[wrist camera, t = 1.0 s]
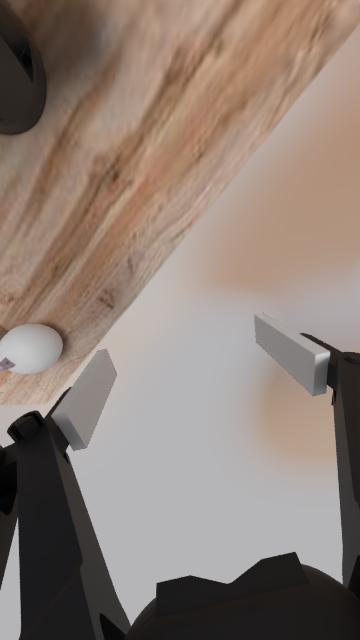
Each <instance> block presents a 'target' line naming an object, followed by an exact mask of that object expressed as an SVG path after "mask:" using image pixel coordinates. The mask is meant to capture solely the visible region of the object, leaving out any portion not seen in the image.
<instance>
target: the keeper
mask: <svg viewBox="0 0 360 640" xmlns="http://www.w3.org/2000/svg"><path fill="white" fill-rule="evenodd" d="M7 333H8V331H7V330H5V329H4V328H3V327H1V326H0V341H1V339H2V338H3V337H4V336H5V334H7ZM0 363H1V362H0Z"/></svg>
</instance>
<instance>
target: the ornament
mask: <svg viewBox="0 0 360 640" xmlns="http://www.w3.org/2000/svg"><path fill="white" fill-rule="evenodd" d="M62 348H63V343H62V339H61V337H60V335H59V334H58V333H57V332H56V331H55V330H54V329H52V328H50V327H48V326H45V325H41V324H25V325H21V326H18V327H15V328H13V329H12V330H10V331H9V332H8V333H7V334H5V336H4V337H3V338H2V339H1V341H0V362H1V363H0V370H1V371H3V370H6V369H8V370H10V371H12V372H15V373H18V374H35V373H39V372H42V371H44V370H46V369H48V368H50V367H51V366H52V365H53V364H54V363H55V362H56V361H57V360H58V358H59V357H60V355H61V352H62Z"/></svg>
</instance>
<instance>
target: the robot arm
mask: <svg viewBox="0 0 360 640" xmlns="http://www.w3.org/2000/svg"><path fill="white" fill-rule="evenodd" d="M45 96H46V81H45V73H44V69H43V65H42V61H41V58H40V55H39V53H38V50H37V48H36V46H35V44H34V42H33V40H32V38H31V36H30V35H29V33H28V31H27V30H26V28H25V26H24V25H23V23H22V22H21V20H20V18H19V17H18V15H17V14H16V12H15V11H14V9H13V8H12V7H11V5H10V4H9V3H8V2H7V0H0V132H1V133H8V134H13V133H19V132H22V131H25V130H27V129H28V128H30V127H31V126H32V125H33V124H34V123H35V122H36V121H37V120H38V118H39V116H40V114H41V112H42V110H43V107H44V103H45ZM254 319H255V332H256V343H257V344H259V345H260V346H261V347H262V348H263V349H264V350H265V351H266V352H267V353H268V354H269V355H270V356H271V357H272V358H273V359H274V360H275V361H276V362H277V363H279V364H280V365H281V366H282V367H283V368H284V369H285V370H286V371H287V372H288V373H289V374H290V375H291V376H292V377H293V378H294V379H295V380H296V381H297V382H298V383H299V384H300V385H302V386H303V387H304V388H305V389H306V390H307V391H308V392H309V393H310V394H311V395H312V396H316V395H320V394H325V393H326V388H327V385H328V386H330V387H331V388H332V389H333V396H332V404H331V405H333V406H334V422H335V437H336V452H337V465H338V480H339V495H340V511H341V526H342V541H343V559H342V576H343V585H342V584H341V583H340V582H338V581H336V580H335V579H334V578H332V577H331V576H329V575H327V574H325V573H324V572H322V571H320V570H318V569H315V568H313V567H310V566H308V565H303V564H301V563H300V561H299V559H298V557H297V554H296V552H292V553H288V554H284V555H279V556H274V557H270V558H265V559H262V560H260V561H259V562H257V563H256V564H255V565H254V566H252V567H251V568H250V569H248V570H247V571H246V572H245V573H243V574H242V575H241V576H239V577H238V578H237V579H236V580H235V581H233V582H232V583H229V584H225V583H221V582H217V581H212V580H208V579H203V578H199V577H195V576H191V575H190V576H186V577H181V578H177V579H173V580H168V581H164V582H160V583H157V588H156V598H155V599H153V600H152V601H151V602H150V603H149V604H148V605H147V606H146V607H145V608H144V610H143V611H142V612H141V613H140V615H139V616H138V617H137V618H136V620H135V622H134V623H133V625H132V626H131V625H130V623H129V620H128V618H127V616H126V613H125V612H124V610H123V608H122V606H121V604H120V602H119V599H118V597H117V595H116V592H115V589H114V586H113V583H112V581H111V578H110V575H109V572H108V569H107V566H106V563H105V560H104V557H103V555H102V552H101V549H100V546H99V543H98V540H97V537H96V534H95V531H94V529H93V526H92V523H91V520H90V517H89V514H88V511H87V508H86V506H85V502H84V500H83V497H82V494H81V491H80V488H79V485H78V482H77V479H76V476H75V474H74V471H73V468H72V465H71V462H70V459H69V456H68V454H67V453H66V449H67V447H68V445H69V444H70V446H71V447H72V449H73V451H75V450H80V449H84V448H87V446H88V444H89V441H90V439H91V437H92V434H93V431H94V429H95V427H96V425H97V422H98V420H99V417H100V415H101V412H102V410H103V408H104V405H105V403H106V400H107V398H108V395H109V393H110V391H111V388H112V386H113V383H114V381H115V378H116V376H117V373H116V370H115V368H114V366H113V363H112V361H111V358H110V356H109V353H108V351H107V349H103V350H99V351H97V353H96V354H95V355H94V357H93V358H92V360H91V361H90V362H89V364H88V365H87V367H86V368H85V369H84V371H83V372H82V373H81V375H80V376H79V378H78V379H77V380H76V382H75V383H74V385H73V386H72V387H70V388H69V389H67V390H66V391H65V392H64V393H63V394H62V395H61V397H60V398H59V400H58V401H57V402H56V404H55V405H54V406H53V407H52V409H51V410H50V411H49V413H48V414H47V415H46V417H45V418H43V417H42V416H41V414H40V413H39V411H31V412H28V413H26V414H24V415H23V416H21V417H20V418H18V419H17V420H16V421H14V422H13V423H12V424H11V425H10V427H9V428H8V430H7V433H8V434H9V435H10V436H11V438H12V439H13V440H14V442H15V443H13V444H11V445H9V446H7V447H5V448H3V447H2V446H1V445H0V589H1V584H2V581H3V577H4V572H5V568H6V564H7V560H8V556H9V552H10V547H11V543H12V539H13V535H14V531H15V526H16V522H17V518H18V527H19V528H18V529H19V561H20V563H19V564H20V600H21V634H20V637H19V640H360V353H355V352H341V351H339V350H337V349H335V348H334V347H332V346H330V345H328V344H326V343H324V342H323V341H321V340H318V339H317V338H315V337H313V336H312V335H308V334H304V333H300V334H299V333H297V332H295V331H294V330H292V329H290V328H289V327H287V326H285V325H283V324H282V323H280V322H278V321H276V320H275V319H273V318H271V317H269V316H268V315H266V314H264V313H259V314H255V315H254Z"/></svg>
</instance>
